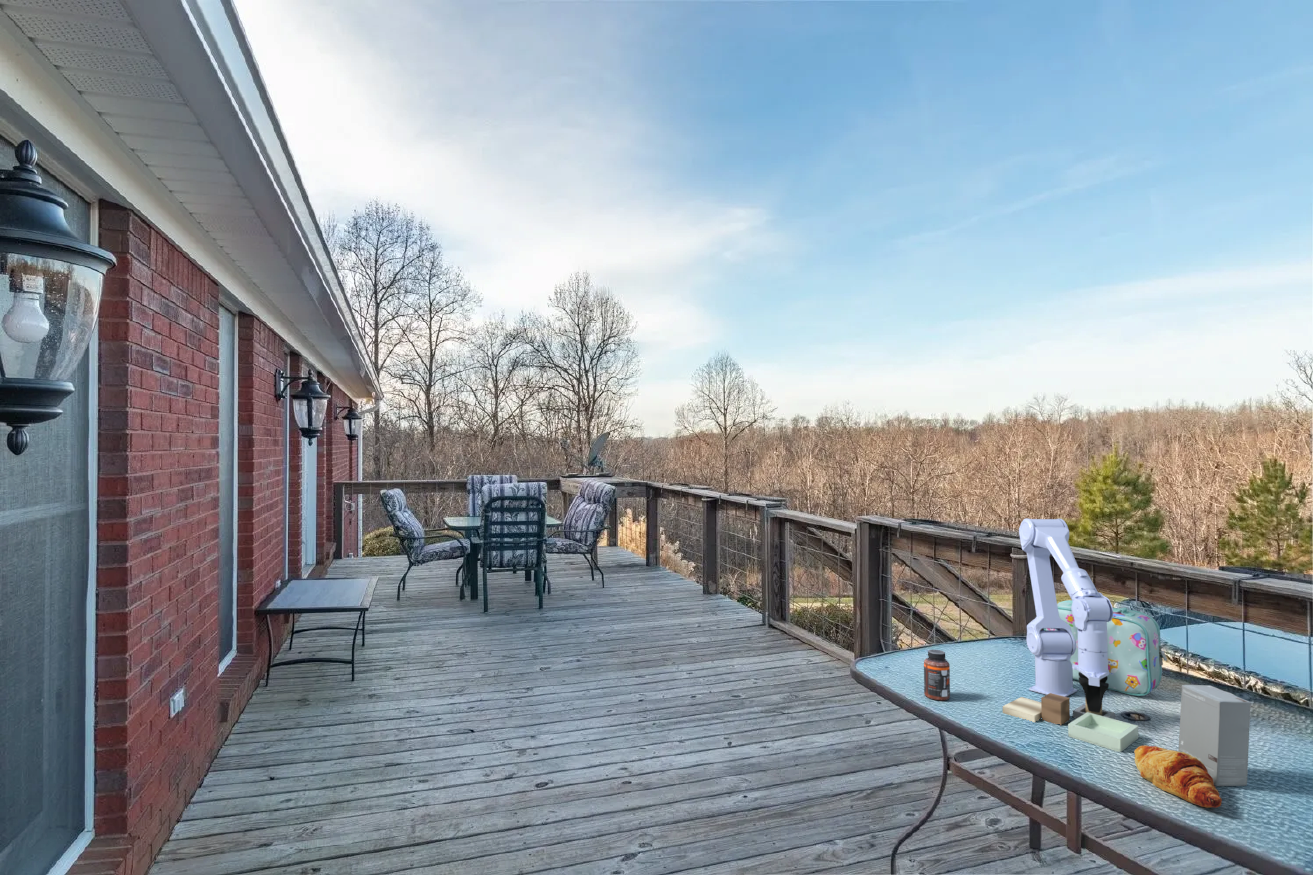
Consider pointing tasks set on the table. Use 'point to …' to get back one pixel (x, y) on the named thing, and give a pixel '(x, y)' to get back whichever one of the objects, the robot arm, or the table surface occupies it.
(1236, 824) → the table surface
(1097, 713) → the dowel
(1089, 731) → the tray
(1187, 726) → the skincare box
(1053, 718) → the brown block
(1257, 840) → the table surface
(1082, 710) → the dowel socket
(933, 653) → the supplement bottle
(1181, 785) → the croissant
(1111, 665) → the lunch box
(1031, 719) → the cream flat block
